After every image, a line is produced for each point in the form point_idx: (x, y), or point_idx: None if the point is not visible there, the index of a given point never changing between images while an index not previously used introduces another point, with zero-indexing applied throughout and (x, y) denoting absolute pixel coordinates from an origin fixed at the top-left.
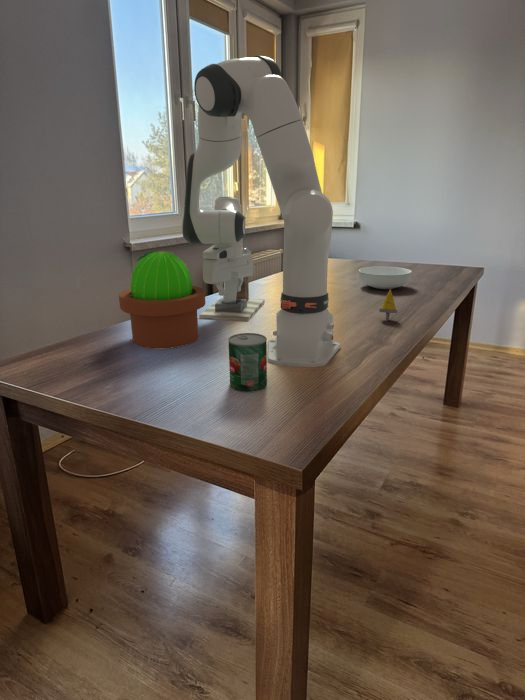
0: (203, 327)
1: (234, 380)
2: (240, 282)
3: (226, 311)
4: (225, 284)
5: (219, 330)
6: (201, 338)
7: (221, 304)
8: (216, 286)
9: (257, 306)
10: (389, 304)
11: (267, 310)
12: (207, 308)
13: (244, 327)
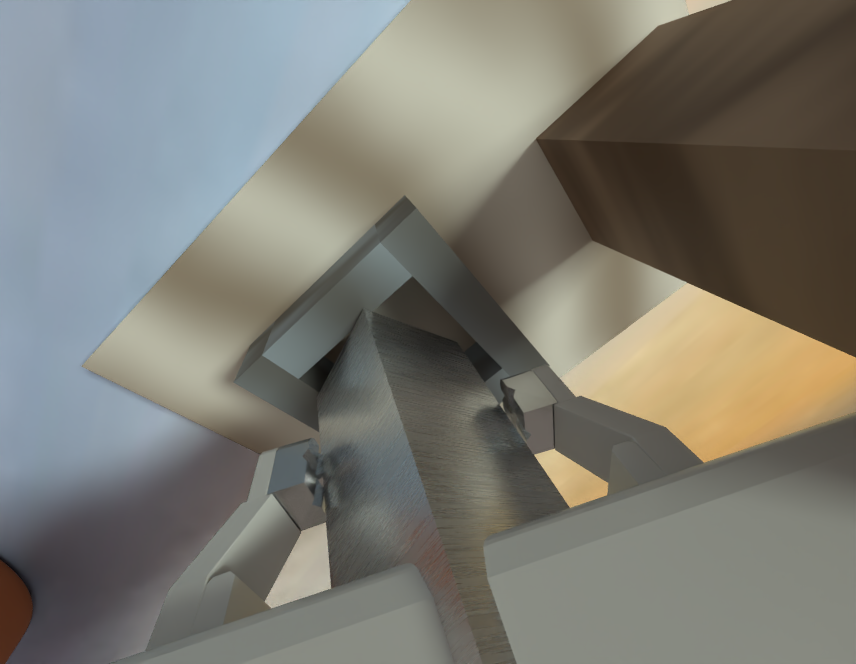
0: (102, 489)
1: None
2: (602, 469)
3: None
4: (335, 575)
5: (183, 543)
6: (58, 599)
7: (287, 413)
8: (197, 557)
9: (563, 372)
10: None
11: (590, 373)
12: (218, 215)
13: (316, 539)
